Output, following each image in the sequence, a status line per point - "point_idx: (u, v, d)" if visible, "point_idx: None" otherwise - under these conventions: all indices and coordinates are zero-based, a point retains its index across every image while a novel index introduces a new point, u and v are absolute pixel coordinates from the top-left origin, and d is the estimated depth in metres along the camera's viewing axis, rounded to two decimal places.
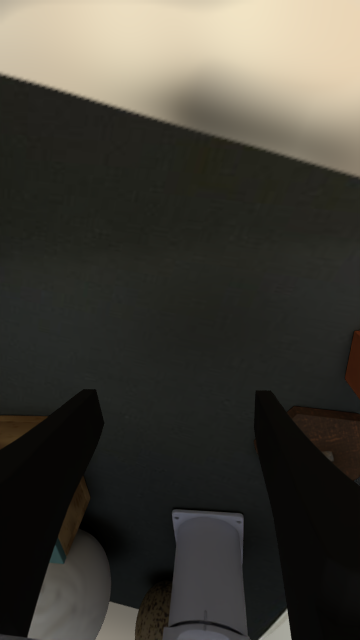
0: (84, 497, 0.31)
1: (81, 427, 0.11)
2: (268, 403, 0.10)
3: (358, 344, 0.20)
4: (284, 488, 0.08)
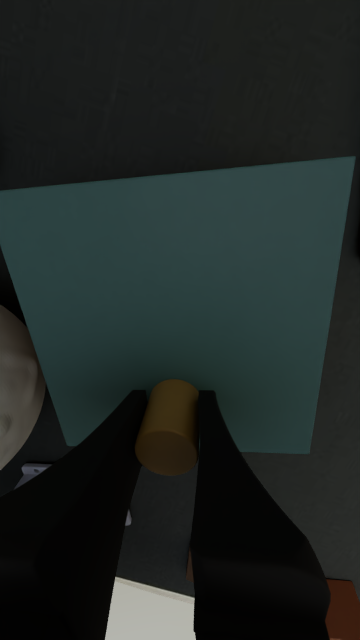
0: None
1: (136, 428, 0.11)
2: (205, 402, 0.10)
3: (349, 592, 0.27)
4: None
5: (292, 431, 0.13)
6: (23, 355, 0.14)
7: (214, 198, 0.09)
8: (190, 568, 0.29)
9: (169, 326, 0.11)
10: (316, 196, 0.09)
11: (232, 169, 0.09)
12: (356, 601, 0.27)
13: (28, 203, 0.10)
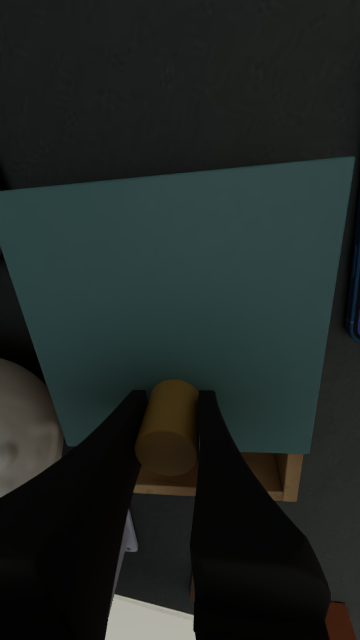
0: None
1: (136, 428, 0.11)
2: (205, 402, 0.10)
3: (342, 614, 0.29)
4: None
5: (292, 431, 0.13)
6: (47, 421, 0.16)
7: (214, 198, 0.09)
8: (193, 591, 0.30)
9: (169, 326, 0.11)
10: (316, 196, 0.09)
11: (232, 169, 0.09)
12: (348, 623, 0.28)
13: (28, 203, 0.10)
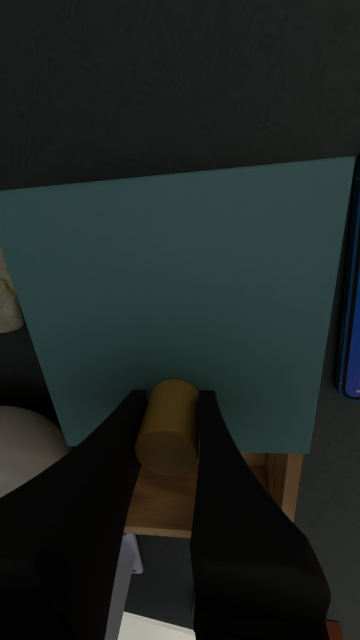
0: None
1: (136, 428, 0.11)
2: (205, 402, 0.10)
3: (335, 632, 0.31)
4: None
5: (292, 431, 0.13)
6: None
7: (214, 198, 0.09)
8: None
9: (169, 326, 0.11)
10: (316, 196, 0.09)
11: (232, 169, 0.09)
12: None
13: (28, 203, 0.10)
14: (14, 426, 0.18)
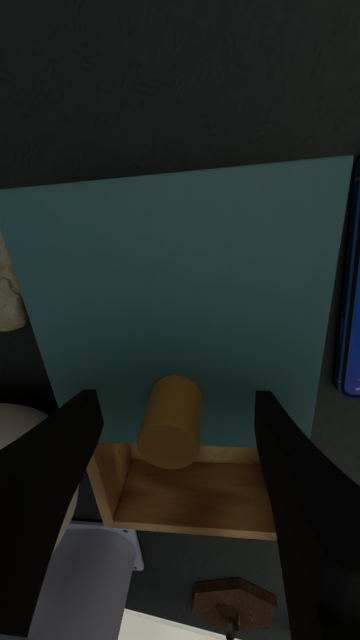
0: None
1: (81, 427, 0.11)
2: (269, 403, 0.10)
3: None
4: (284, 488, 0.08)
5: None
6: None
7: (215, 196, 0.09)
8: (195, 606, 0.32)
9: (170, 323, 0.11)
10: (315, 194, 0.09)
11: (233, 168, 0.09)
12: None
13: (32, 201, 0.10)
14: (17, 423, 0.18)
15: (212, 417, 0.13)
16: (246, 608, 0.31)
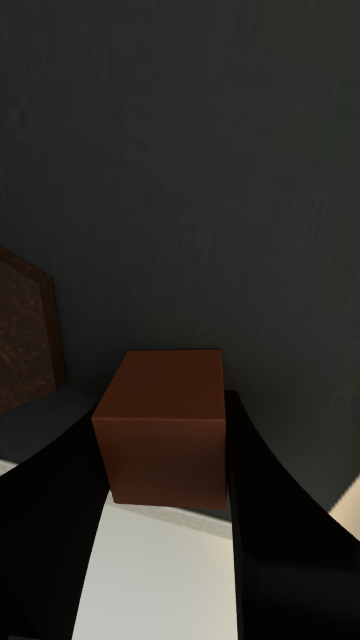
0: None
1: None
2: (230, 402, 0.10)
3: (205, 360, 0.12)
4: (233, 485, 0.08)
5: None
6: None
7: None
8: None
9: None
10: None
11: None
12: (215, 368, 0.11)
13: None
14: None
15: None
16: None
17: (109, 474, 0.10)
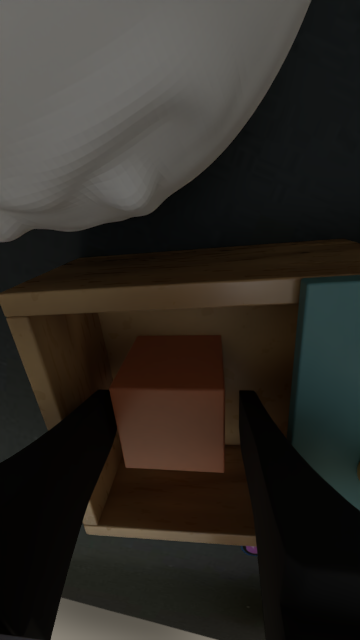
0: None
1: (98, 427, 0.11)
2: (250, 403, 0.10)
3: (207, 343, 0.13)
4: (259, 487, 0.08)
5: None
6: (145, 213, 0.08)
7: None
8: None
9: None
10: None
11: None
12: (216, 350, 0.12)
13: None
14: None
15: None
16: None
17: (122, 440, 0.11)
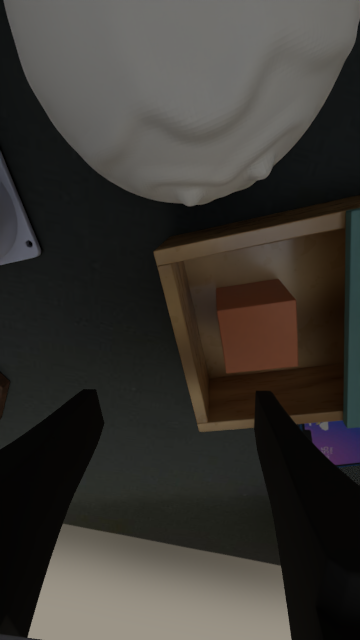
0: None
1: (81, 427, 0.11)
2: (268, 403, 0.10)
3: (271, 283, 0.18)
4: (284, 488, 0.08)
5: None
6: (243, 188, 0.13)
7: None
8: None
9: None
10: None
11: None
12: (279, 285, 0.17)
13: None
14: None
15: None
16: None
17: (225, 350, 0.17)
